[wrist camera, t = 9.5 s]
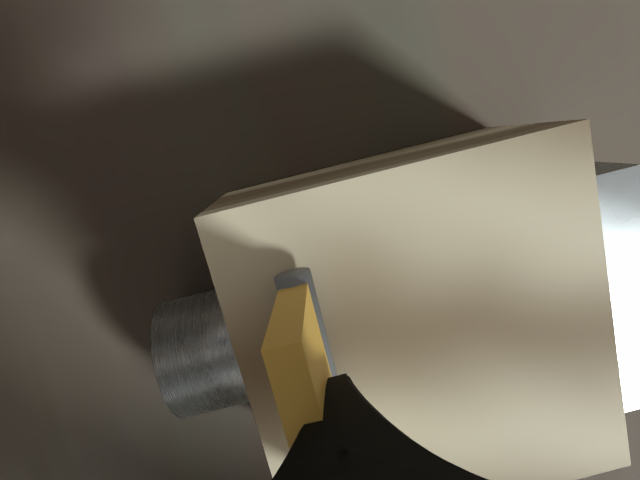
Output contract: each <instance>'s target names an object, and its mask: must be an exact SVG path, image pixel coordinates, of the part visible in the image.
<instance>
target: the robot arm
mask: <svg viewBox="0 0 640 480" xmlns="http://www.w3.org/2000/svg"><path fill="white" fill-rule="evenodd" d="M272 480H488V479H486V478H483V477H481V476H478V475H476V474H474V473H471V472H469V471H467V470H465V469H463V468H461V467H459V466H456V465H454V464H452V463H450V462H448V461H446V460H444V459H442V458H441V457H439V456H437V455H435V454H434V453H432V452H430V451H429V450H427V449H426V448H424V447H423V446H421V445H420V444H418V443H417V442H415V441H414V440H412V439H411V438H410V437H408V436H407V435H406V434H404V433H403V432H402V431H400V430H399V429H398V428H397V427H396V426H394V425H393V424H392V423H391V422H390V421H388V420H387V419H386V418H385V417H384V416H383V415H382V414H381V413H380V412H379V411H378V410H377V409H376V408H375V407H373V406H372V405H371V404H370V403H369V401H368V400H367V399H366V398H365V397H364V396H363V395H362V394H361V392H360V391H359V390H358V389H357V387H356V386H355V385H354V383H353V382H352V380H351V378H350V377H349V376H347V373H345V374H341V375H337V376H333V377H329V378H328V379H327V383H326V389H325V398H324V410H323V420H322V421H317V422H312V423H308V424H304V425H303V427H302V428H301V429H300V431H299V433H298V435H297V437H296V439H295V441H294V443H293V444H292V446H291V448H290V450H289V452H288V454H287V455H286V457H285V459H284V461H283V463H282V464H281V466H280V467H279V469H278V471H277V472H276V474H275V475H274V477H273V478H272Z"/></svg>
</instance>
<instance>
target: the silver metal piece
mask: <svg viewBox="0 0 640 480" xmlns="http://www.w3.org/2000/svg"><path fill="white" fill-rule="evenodd" d="M594 163H595V172H596V180H597V188H598V196H599V205H600V213H601V221H602V230H603V238H604V246H605V254H606V263H607V271H608V279H609V288H610V296H611V304H612V312H613V321H614V329H615V337H616V346H617V354H618V362H619V370H620V379H621V387H622V395H623V403H624V412H629V411H633V410H637V409H640V164H625V163H608V162H594ZM151 352H152V359H153V365H154V370H155V374H156V378H157V382H158V385H159V388H160V391H161V393H162V396H163V398H164V400H165V402H166V404H167V406H168V407H169V409H170V410H171V412H172V413H173V414H174V415H175V416H176V417H178V418H180V419H184V418H188V417H192V416H196V415H200V414H203V413H207V412H211V411H215V410H219V409H223V408H227V407H231V406H235V405H239V404H242V403H246V402H249V399H248V396H247V392H246V389H245V386H244V382H243V379H242V376H241V373H240V369H239V366H238V363H237V359H236V356H235V353H234V350H233V346H232V343H231V340H230V336H229V333H228V330H227V327H226V323H225V320H224V317H223V313H222V310H221V307H220V304H219V300H218V297H217V294H216V290H211V291H207V292H204V293H200V294H196V295H192V296H188V297H184V298H180V299H176V300H172V301H168V302H164V303H161V304H159V305H158V306H157V307H156V309H155V311H154V313H153V317H152V322H151Z"/></svg>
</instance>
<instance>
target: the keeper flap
mask: <svg viewBox="0 0 640 480" xmlns="http://www.w3.org/2000/svg"><path fill="white" fill-rule="evenodd" d="M274 282H275V285H276V289H277V296H276V300H275V303H274V307H273V310H272V314H271V317H270V320H269V324H268V327H267V331H266V334H265V338H264V341H263V345H262V348H261V353H262V357H263V360H264V364H265V367H266V370H267V374H268V377H269V381H270V384H271V388H272V391H273V394H274V398H275V401H276V405H277V408H278V412H279V415H280V419H281V422H282V425H283V429H284V432H285V436H286V439H287V443H288V446H289V449H290V448H291V446H292V444H293V443H294V441H295V439H296V437H297V435H298V433H299V431H300V429H301V428H302V427H303V425H304V424H308V423H312V422H317V421H322V420H323V410H324V398H325V389H326V383H327V379H328V378H329V377H333V376H337V371H336V368H335V364H334V360H333V356H332V352H331V348H330V344H329V340H328V337H327V333H326V329H325V325H324V321H323V317H322V313H321V309H320V305H319V302H318V298H317V294H316V290H315V286H314V282H313V278H312V274H311V271H310V268H308V267H299V268H294V269H290V270H286V271H284V272H281V273H279V274H277V275H276V276H275V277H274Z"/></svg>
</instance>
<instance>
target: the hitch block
mask: <svg viewBox="0 0 640 480" xmlns="http://www.w3.org/2000/svg"><path fill="white" fill-rule="evenodd" d="M194 221H195V225H196V228H197V231H198V235H199V238H200V241H201V244H202V248H203V251H204V254H205V258H206V261H207V264H208V267H209V271H210V274H211V277H212V281H213V284H214V287H215V290H216V294H217V297H218V300H219V304H220V307H221V310H222V313H223V317H224V320H225V323H226V327H227V330H228V333H229V336H230V340H231V343H232V346H233V350H234V353H235V356H236V359H237V363H238V366H239V369H240V373H241V376H242V379H243V382H244V386H245V389H246V392H247V396H248V399H249V402H250V405H251V409H252V412H253V415H254V419H255V422H256V425H257V428H258V432H259V435H260V438H261V442H262V445H263V448H264V451H265V455H266V458H267V461H268V465H269V468H270V471H271V474H272V478H273V477H274V475H275V474H276V472H277V471H278V469H279V467H280V466H281V464H282V463H283V461H284V459H285V457H286V455H287V454H288V452H289V450H290V449H289V446H288V443H287V439H286V436H285V432H284V429H283V425H282V422H281V419H280V415H279V412H278V408H277V405H276V401H275V398H274V394H273V391H272V388H271V384H270V381H269V377H268V374H267V370H266V367H265V364H264V360H263V357H262V353H261V348H262V345H263V341H264V338H265V334H266V331H267V327H268V324H269V320H270V317H271V314H272V310H273V307H274V303H275V300H276V296H277V289H276V285H275V282H274V277H275V276H276V275H277V274H279V273H281V272H284V271H286V270H290V269H294V268H299V267H308V268H310V271H311V274H312V278H313V282H314V286H315V290H316V294H317V298H318V302H319V305H320V309H321V313H322V317H323V321H324V325H325V329H326V333H327V337H328V340H329V344H330V348H331V352H332V356H333V360H334V364H335V368H336V371H337V375H341V374H345V373H347V376H349V377H350V378H351V380H352V382H353V383H354V385H355V386H356V387H357V389H358V390H359V391H360V392H361V394H362V395H363V396H364V397H365V398H366V399H367V400H368V401H369V403H370V404H371V405H372V406H373V407H375V408H376V409H377V410H378V411H379V412H380V413H381V414H382V415H383V416H384V417H385V418H386V419H387V420H388V421H390V422H391V423H392V424H393V425H394V426H396V427H397V428H398V429H399V430H400V431H402V432H403V433H404V434H406V435H407V436H408V437H410V438H411V439H412V440H414V441H415V442H417V443H418V444H420V445H421V446H423V447H424V448H426V449H427V450H429V451H430V452H432V453H434V454H435V455H437V456H439V457H441V458H442V459H444V460H446V461H448V462H450V463H452V464H454V465H456V466H459V467H461V468H463V469H465V470H467V471H469V472H471V473H474V474H476V475H478V476H481V477H483V478H486V479H488V480H577V479H581V478H584V477H588V476H592V475H596V474H600V473H604V472H607V471H611V470H615V469H619V468H623V467H627V466H630V465H631V461H630V453H629V445H628V437H627V428H626V420H625V412H624V403H623V395H622V387H621V379H620V370H619V362H618V354H617V346H616V337H615V329H614V321H613V312H612V304H611V296H610V288H609V279H608V271H607V263H606V254H605V246H604V238H603V230H602V221H601V213H600V205H599V196H598V188H597V180H596V172H595V163H594V155H593V147H592V138H591V130H590V122H589V119H581V120H569V121H558V122H546V123H534V124H523V125H511V126H499V127H487V128H483V129H479V130H475V131H471V132H467V133H463V134H459V135H455V136H451V137H447V138H443V139H439V140H435V141H431V142H427V143H423V144H419V145H415V146H411V147H407V148H403V149H399V150H395V151H391V152H387V153H383V154H379V155H375V156H371V157H367V158H363V159H359V160H355V161H351V162H347V163H343V164H339V165H335V166H331V167H327V168H323V169H319V170H316V171H312V172H308V173H304V174H300V175H296V176H292V177H288V178H284V179H280V180H276V181H272V182H268V183H264V184H260V185H256V186H252V187H248V188H244V189H240V190H236V191H232V192H228V193H226V194H224V195H223V196H222V197H220V198H219V199H218V200H216V201H215V202H214V203H213V204H211V205H210V206H209V207H207V208H206V209H205V210H204V211H202V212H201V213H200V214H198V215H197V216H196V217H194Z"/></svg>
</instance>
